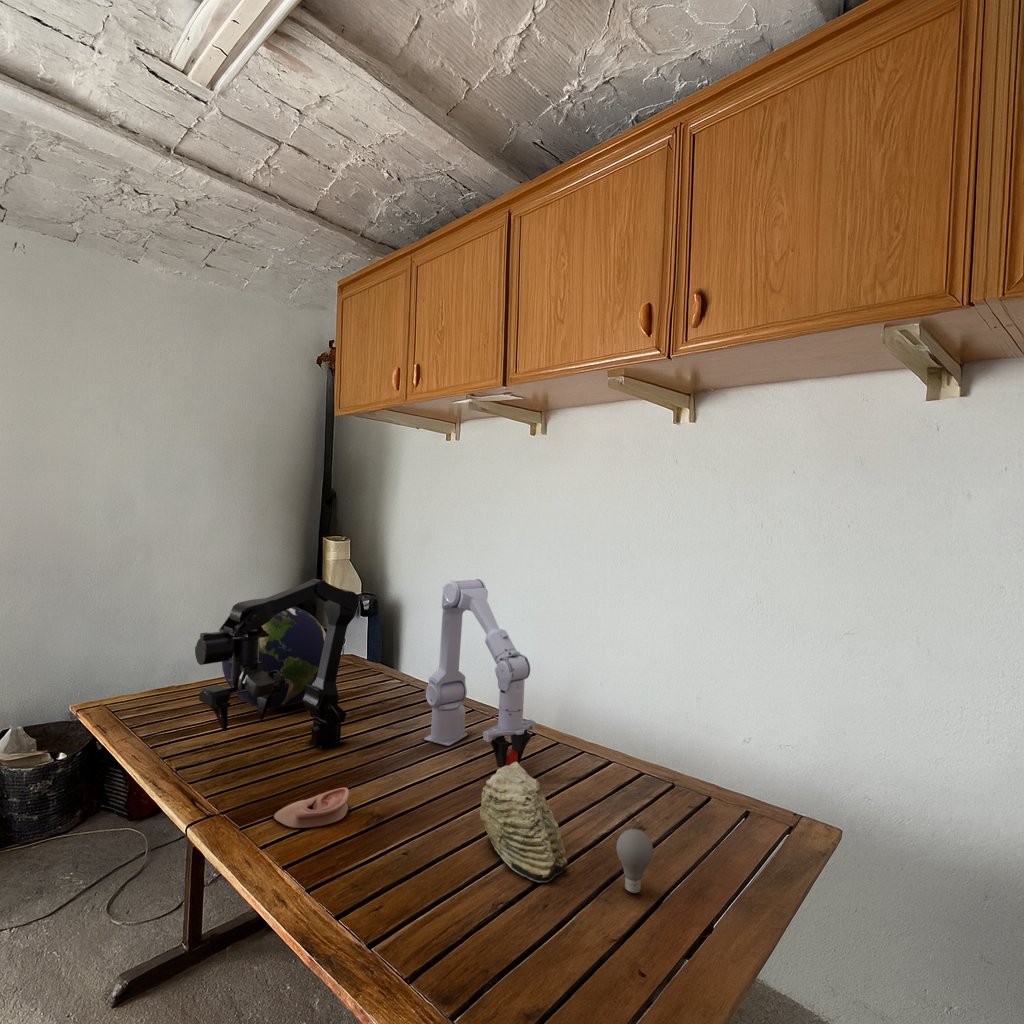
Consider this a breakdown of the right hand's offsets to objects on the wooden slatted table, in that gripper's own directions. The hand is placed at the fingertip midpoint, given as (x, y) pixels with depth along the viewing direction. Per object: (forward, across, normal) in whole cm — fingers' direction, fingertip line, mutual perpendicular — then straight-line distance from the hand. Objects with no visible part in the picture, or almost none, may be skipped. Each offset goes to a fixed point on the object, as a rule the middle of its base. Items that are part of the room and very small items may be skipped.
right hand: (508, 765), depth 149 cm
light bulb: (+2, -12, -46) cm, 48 cm away
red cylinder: (+1, 0, 0) cm, 1 cm away
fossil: (+2, -20, -27) cm, 34 cm away
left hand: (-8, -48, +38) cm, 62 cm away
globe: (+2, -27, +75) cm, 80 cm away
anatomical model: (+2, -44, +8) cm, 45 cm away
